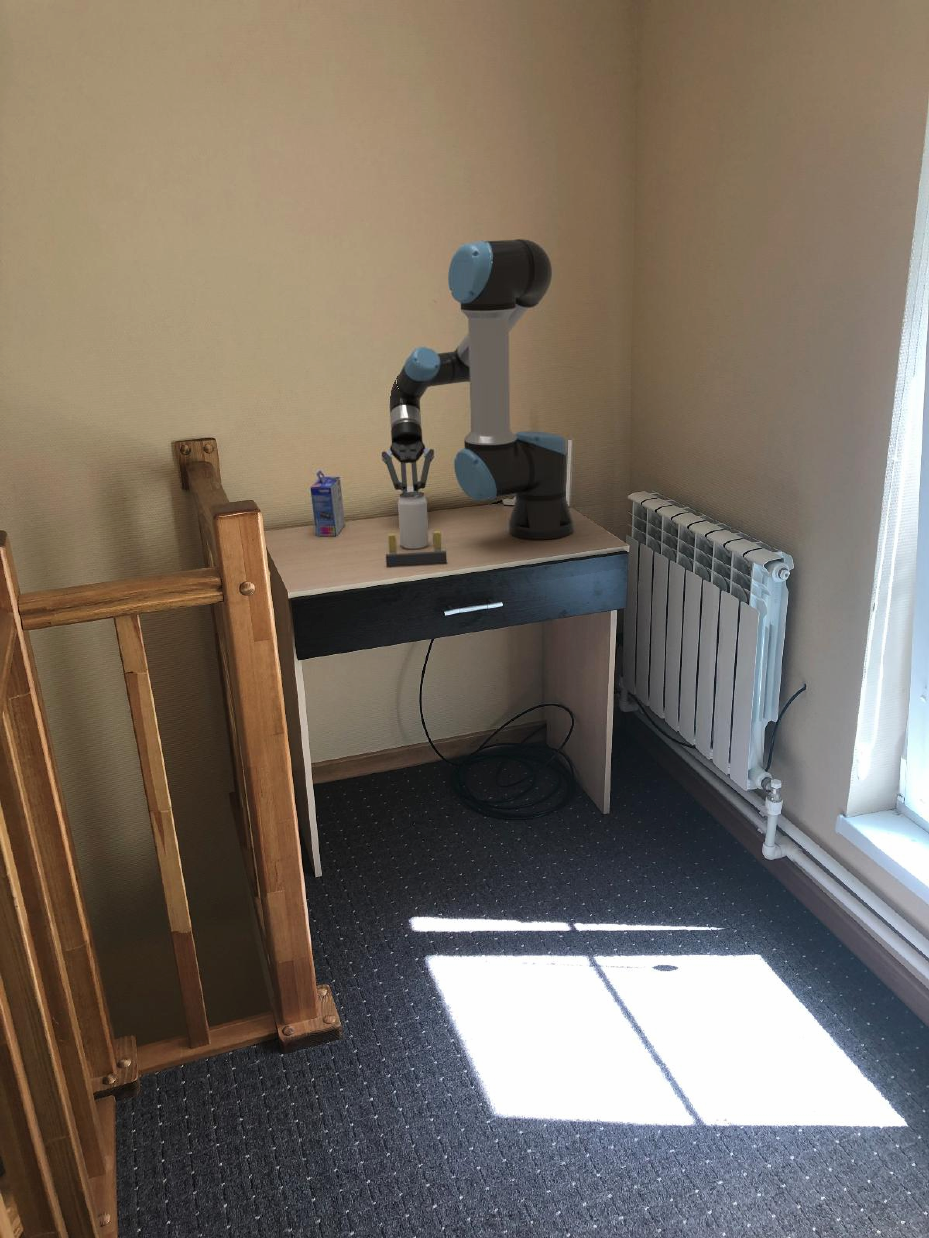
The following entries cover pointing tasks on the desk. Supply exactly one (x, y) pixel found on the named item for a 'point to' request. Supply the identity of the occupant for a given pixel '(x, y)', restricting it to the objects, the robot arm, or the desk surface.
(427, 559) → the u-shaped rail frame
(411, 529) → the can
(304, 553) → the desk surface
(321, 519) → the ink cartridge box
